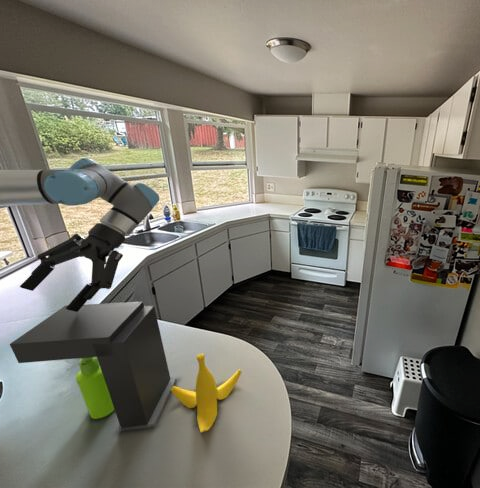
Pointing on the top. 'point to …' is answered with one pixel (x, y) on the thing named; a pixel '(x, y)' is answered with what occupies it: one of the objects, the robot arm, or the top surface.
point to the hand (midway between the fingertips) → (48, 299)
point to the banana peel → (205, 394)
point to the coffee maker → (109, 354)
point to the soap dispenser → (94, 388)
